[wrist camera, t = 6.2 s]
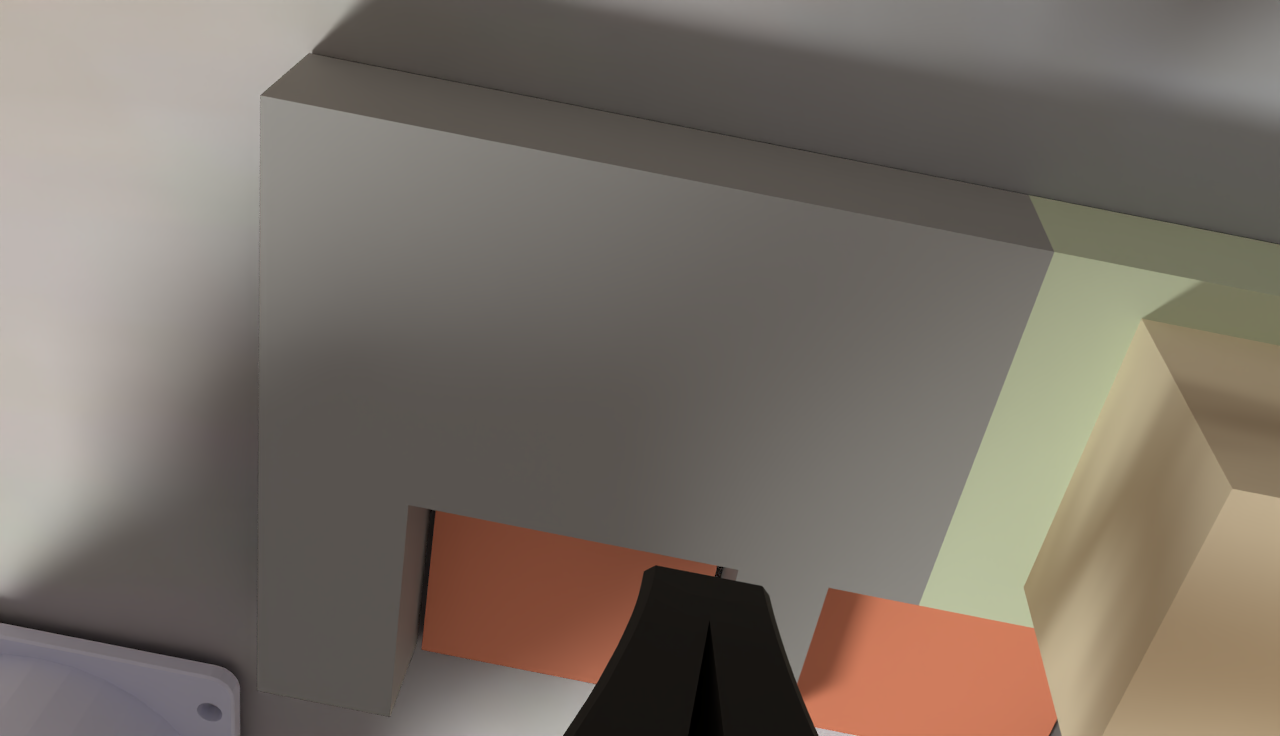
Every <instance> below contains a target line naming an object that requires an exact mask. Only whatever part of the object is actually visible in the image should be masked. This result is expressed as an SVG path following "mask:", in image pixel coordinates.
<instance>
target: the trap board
mask: <svg viewBox="0 0 1280 736" xmlns="http://www.w3.org/2000/svg"><path fill="white" fill-rule="evenodd" d="M1141 318H1142V319H1147V320H1152V321H1157V322H1162V323H1167V324H1172V325H1177V326H1182V327H1187V328H1192V329H1197V330H1202V331H1208V332H1213V333H1218V334H1223V335H1228V336H1233V337H1238V338H1243V339H1248V340H1253V341H1258V342H1263V343H1269V344H1274V345H1279V346H1280V245H1279V244H1274V243H1269V242H1264V241H1259V240H1254V239H1249V238H1244V237H1239V236H1234V235H1229V234H1223V233H1218V232H1213V231H1208V230H1203V229H1198V228H1193V227H1188V226H1183V225H1178V224H1173V223H1168V222H1163V221H1158V220H1152V219H1147V218H1142V217H1137V216H1132V215H1127V214H1122V213H1117V212H1112V211H1107V210H1102V209H1097V208H1092V207H1087V206H1081V205H1076V204H1071V203H1066V202H1061V201H1056V200H1051V199H1046V198H1041V197H1036V196H1031V195H1026V194H1021V193H1016V192H1010V191H1005V190H1000V189H995V188H990V187H985V186H980V185H975V184H970V183H965V182H960V181H955V180H950V179H945V178H939V177H934V176H929V175H924V174H919V173H914V172H909V171H904V170H899V169H894V168H889V167H884V166H879V165H874V164H868V163H863V162H858V161H853V160H848V159H843V158H838V157H833V156H828V155H823V154H818V153H813V152H808V151H803V150H797V149H792V148H787V147H782V146H777V145H772V144H767V143H762V142H757V141H752V140H747V139H742V138H737V137H732V136H726V135H721V134H716V133H711V132H706V131H701V130H696V129H691V128H686V127H681V126H676V125H671V124H666V123H661V122H655V121H650V120H645V119H640V118H635V117H630V116H625V115H620V114H615V113H610V112H605V111H600V110H595V109H590V108H584V107H579V106H574V105H569V104H564V103H559V102H554V101H549V100H544V99H539V98H534V97H529V96H524V95H519V94H513V93H508V92H503V91H498V90H493V89H488V88H483V87H478V86H473V85H468V84H463V83H458V82H453V81H448V80H442V79H437V78H432V77H427V76H422V75H417V74H412V73H407V72H402V71H397V70H392V69H387V68H382V67H377V66H372V65H366V64H361V63H356V62H351V61H346V60H341V59H336V58H331V57H326V56H321V55H316V54H311V53H309V54H308V55H306V56H305V57H304V58H303V59H302V60H301V61H299V62H298V63H297V64H296V65H295V66H294V67H293V68H291V69H290V70H289V71H288V72H287V73H286V74H284V75H283V76H282V77H281V78H280V79H279V80H278V81H276V82H275V83H274V84H273V85H272V86H271V87H269V88H268V89H267V90H266V91H265V92H264V93H263V94H261V95H260V245H259V417H258V589H257V691H260V692H266V693H271V694H276V695H281V696H286V697H291V698H296V699H301V700H306V701H311V702H316V703H322V704H327V705H332V706H337V707H342V708H347V709H352V710H357V711H362V712H367V713H372V714H377V715H383V716H388V717H390V715H391V713H392V710H393V707H394V704H395V702H396V699H397V696H398V693H399V691H400V688H401V685H402V682H403V680H404V677H405V674H406V671H407V669H408V666H409V663H410V660H411V658H412V655H413V652H414V649H415V647H416V644H417V641H418V631H419V621H420V611H421V601H422V591H423V581H424V571H425V561H426V551H427V541H428V531H429V521H430V511H431V510H436V513H435V522H434V532H433V542H432V552H431V562H430V571H429V581H428V591H427V601H426V610H425V620H424V630H423V640H422V650H426V651H431V652H436V653H441V654H446V655H451V656H456V657H461V658H466V659H471V660H476V661H481V662H487V663H492V664H497V665H502V666H507V667H512V668H517V669H522V670H527V671H532V672H537V673H543V674H548V675H553V676H558V677H563V678H568V679H573V680H578V681H583V682H588V683H593V684H597V682H598V680H599V678H600V676H601V675H602V673H603V671H604V669H605V667H606V666H607V664H608V662H609V660H610V658H611V657H612V655H613V653H614V651H615V649H616V648H617V646H618V644H619V641H620V639H621V637H622V635H623V633H624V631H625V629H626V626H627V624H628V622H629V620H630V617H631V615H632V612H633V610H634V607H635V605H636V602H637V599H638V595H639V591H640V586H641V582H642V577H643V573H644V571H645V570H647V569H649V568H651V567H653V566H655V565H657V566H662V567H667V568H673V569H678V570H683V571H688V572H693V573H698V574H704V575H709V576H715V573H716V569H717V566H721V567H723V570H722V574H721V578H724V579H729V580H735V581H740V582H745V583H750V584H755V585H760V586H763V587H764V589H765V590H766V592H767V593H768V594H769V596H770V600H771V604H772V608H773V612H774V616H775V619H776V623H777V626H778V630H779V633H780V636H781V639H782V642H783V645H784V648H785V651H786V654H787V657H788V660H789V663H790V666H791V668H792V671H793V674H794V677H795V680H796V682H797V685H798V688H799V690H800V693H801V695H802V698H803V700H804V703H805V705H806V708H807V710H808V712H809V715H810V717H811V719H812V722H813V724H814V727H817V728H822V729H827V730H832V731H837V732H843V733H848V734H853V735H858V736H1062V735H1061V731H1060V727H1059V723H1058V719H1057V715H1056V712H1055V708H1054V704H1053V700H1052V696H1051V692H1050V688H1049V684H1048V680H1047V677H1046V673H1045V669H1044V665H1043V661H1042V657H1041V653H1040V649H1039V645H1038V642H1037V638H1036V634H1035V630H1034V626H1033V622H1032V618H1031V614H1030V610H1029V606H1028V603H1027V599H1026V595H1025V591H1024V585H1025V583H1026V581H1027V578H1028V576H1029V574H1030V571H1031V569H1032V567H1033V565H1034V562H1035V560H1036V558H1037V555H1038V553H1039V551H1040V549H1041V546H1042V544H1043V542H1044V540H1045V537H1046V535H1047V533H1048V530H1049V528H1050V526H1051V524H1052V521H1053V519H1054V517H1055V514H1056V512H1057V510H1058V508H1059V505H1060V503H1061V501H1062V498H1063V496H1064V494H1065V492H1066V489H1067V487H1068V485H1069V483H1070V480H1071V478H1072V476H1073V473H1074V471H1075V469H1076V467H1077V464H1078V462H1079V460H1080V457H1081V455H1082V453H1083V451H1084V448H1085V446H1086V444H1087V442H1088V439H1089V437H1090V435H1091V432H1092V430H1093V428H1094V426H1095V423H1096V421H1097V419H1098V416H1099V414H1100V412H1101V410H1102V407H1103V405H1104V403H1105V400H1106V398H1107V396H1108V394H1109V391H1110V389H1111V387H1112V385H1113V382H1114V380H1115V378H1116V375H1117V373H1118V371H1119V369H1120V366H1121V364H1122V362H1123V359H1124V357H1125V355H1126V353H1127V350H1128V348H1129V346H1130V343H1131V341H1132V339H1133V337H1134V334H1135V332H1136V330H1137V328H1138V325H1139V323H1140V321H1141Z"/></svg>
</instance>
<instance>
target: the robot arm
mask: <svg viewBox="0 0 1280 736" xmlns="http://www.w3.org/2000/svg"><path fill="white" fill-rule="evenodd" d="M211 704H213V705H215V706H213V705H211ZM216 706H217V707H216ZM0 736H240V686H239V682H238V680H237V678H236V677H235V676H234V675H233V673H231V672H230V671H229V670H227V669H226V668H223V667H220V666H217V665H213V664H208V663H202V662H197V661H192V660H187V659H182V658H177V657H172V656H167V655H162V654H157V653H152V652H146V651H141V650H136V649H131V648H126V647H121V646H116V645H111V644H106V643H101V642H96V641H91V640H85V639H80V638H75V637H70V636H65V635H60V634H55V633H50V632H45V631H40V630H35V629H29V628H24V627H19V626H14V625H9V624H4V623H0ZM563 736H818V734H817V731H816V729H815V727H814V724H813V722H812V719H811V717H810V715H809V712H808V710H807V708H806V705H805V703H804V700H803V698H802V695H801V693H800V690H799V688H798V685H797V682H796V680H795V677H794V674H793V671H792V668H791V666H790V663H789V660H788V657H787V654H786V651H785V648H784V645H783V642H782V639H781V636H780V633H779V630H778V626H777V623H776V619H775V616H774V612H773V608H772V604H771V600H770V596H769V594H768V593H767V592H766V590H765V589H764V587H763V586H760V585H755V584H750V583H745V582H740V581H735V580H729V579H724V578H719V577H714V576H709V575H704V574H698V573H693V572H688V571H683V570H678V569H673V568H667V567H662V566H657V565H655V566H653V567H651V568H649V569H647V570H645V571H644V573H643V577H642V582H641V586H640V591H639V595H638V599H637V602H636V605H635V607H634V610H633V612H632V615H631V617H630V620H629V622H628V624H627V626H626V629H625V631H624V633H623V635H622V637H621V639H620V641H619V644H618V646H617V648H616V649H615V651H614V653H613V655H612V657H611V658H610V660H609V662H608V664H607V666H606V667H605V669H604V671H603V673H602V675H601V676H600V678H599V680H598V682H597V684H596V686H595V687H594V689H593V691H592V692H591V694H590V696H589V697H588V699H587V700H586V702H585V703H584V705H583V706H582V708H581V709H580V711H579V712H578V714H577V715H576V717H575V718H574V720H573V722H572V723H571V725H570V726H569V728H568V729H567V731H566V732H565V734H564V735H563Z"/></svg>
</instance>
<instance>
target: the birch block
mask: <svg viewBox="0 0 1280 736" xmlns="http://www.w3.org/2000/svg"><path fill="white" fill-rule="evenodd" d="M1024 591H1025V595H1026V599H1027V603H1028V606H1029V610H1030V614H1031V618H1032V622H1033V626H1034V630H1035V634H1036V638H1037V642H1038V645H1039V649H1040V653H1041V657H1042V661H1043V665H1044V669H1045V673H1046V677H1047V680H1048V684H1049V688H1050V692H1051V696H1052V700H1053V704H1054V708H1055V712H1056V715H1057V719H1058V723H1059V727H1060V731H1061V735H1062V736H1280V346H1279V345H1274V344H1269V343H1263V342H1258V341H1253V340H1248V339H1243V338H1238V337H1233V336H1228V335H1223V334H1218V333H1213V332H1208V331H1202V330H1197V329H1192V328H1187V327H1182V326H1177V325H1172V324H1167V323H1162V322H1157V321H1152V320H1147V319H1142V318H1141V321H1140V323H1139V325H1138V328H1137V330H1136V332H1135V334H1134V337H1133V339H1132V341H1131V343H1130V346H1129V348H1128V350H1127V353H1126V355H1125V357H1124V359H1123V362H1122V364H1121V366H1120V369H1119V371H1118V373H1117V375H1116V378H1115V380H1114V382H1113V385H1112V387H1111V389H1110V391H1109V394H1108V396H1107V398H1106V400H1105V403H1104V405H1103V407H1102V410H1101V412H1100V414H1099V416H1098V419H1097V421H1096V423H1095V426H1094V428H1093V430H1092V432H1091V435H1090V437H1089V439H1088V442H1087V444H1086V446H1085V448H1084V451H1083V453H1082V455H1081V457H1080V460H1079V462H1078V464H1077V467H1076V469H1075V471H1074V473H1073V476H1072V478H1071V480H1070V483H1069V485H1068V487H1067V489H1066V492H1065V494H1064V496H1063V498H1062V501H1061V503H1060V505H1059V508H1058V510H1057V512H1056V514H1055V517H1054V519H1053V521H1052V524H1051V526H1050V528H1049V530H1048V533H1047V535H1046V537H1045V540H1044V542H1043V544H1042V546H1041V549H1040V551H1039V553H1038V555H1037V558H1036V560H1035V562H1034V565H1033V567H1032V569H1031V571H1030V574H1029V576H1028V578H1027V581H1026V583H1025V585H1024Z"/></svg>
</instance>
